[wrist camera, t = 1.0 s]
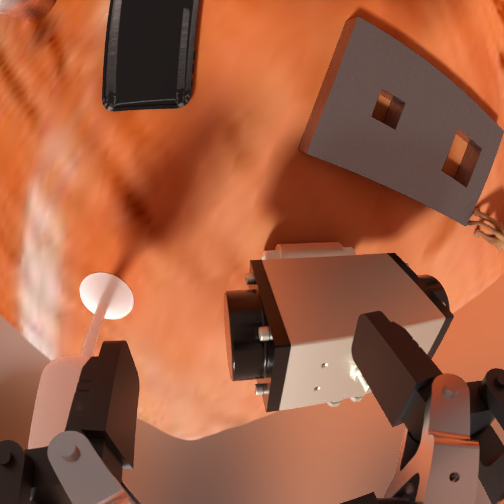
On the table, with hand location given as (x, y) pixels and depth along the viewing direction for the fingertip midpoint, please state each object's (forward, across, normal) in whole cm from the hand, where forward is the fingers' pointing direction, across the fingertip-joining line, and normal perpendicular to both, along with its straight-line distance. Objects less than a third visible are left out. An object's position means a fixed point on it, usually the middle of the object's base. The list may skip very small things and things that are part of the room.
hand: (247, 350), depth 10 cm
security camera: (+21, -9, +8) cm, 24 cm away
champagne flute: (+22, +13, +11) cm, 27 cm away
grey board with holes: (+19, -22, -7) cm, 30 cm away
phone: (+20, +5, -16) cm, 26 cm away
